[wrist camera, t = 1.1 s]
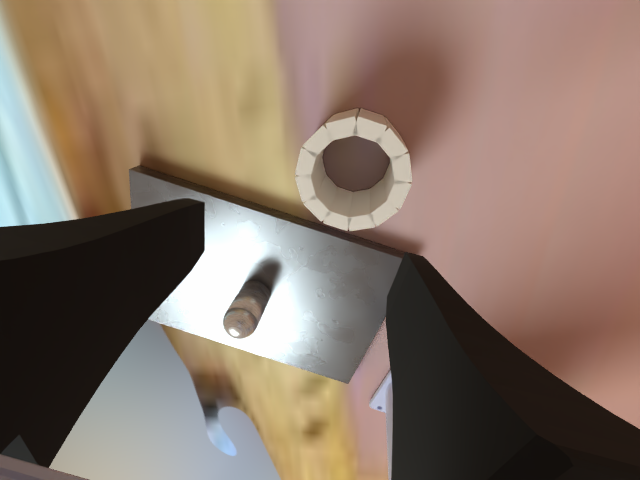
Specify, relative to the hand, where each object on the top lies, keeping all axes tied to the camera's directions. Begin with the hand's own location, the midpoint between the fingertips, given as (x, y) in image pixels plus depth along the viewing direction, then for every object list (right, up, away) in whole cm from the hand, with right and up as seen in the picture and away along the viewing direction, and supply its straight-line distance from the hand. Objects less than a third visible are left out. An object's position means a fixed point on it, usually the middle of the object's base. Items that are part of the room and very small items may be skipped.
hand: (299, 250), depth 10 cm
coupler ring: (+3, +5, +8) cm, 10 cm away
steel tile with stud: (-4, -3, +14) cm, 15 cm away
